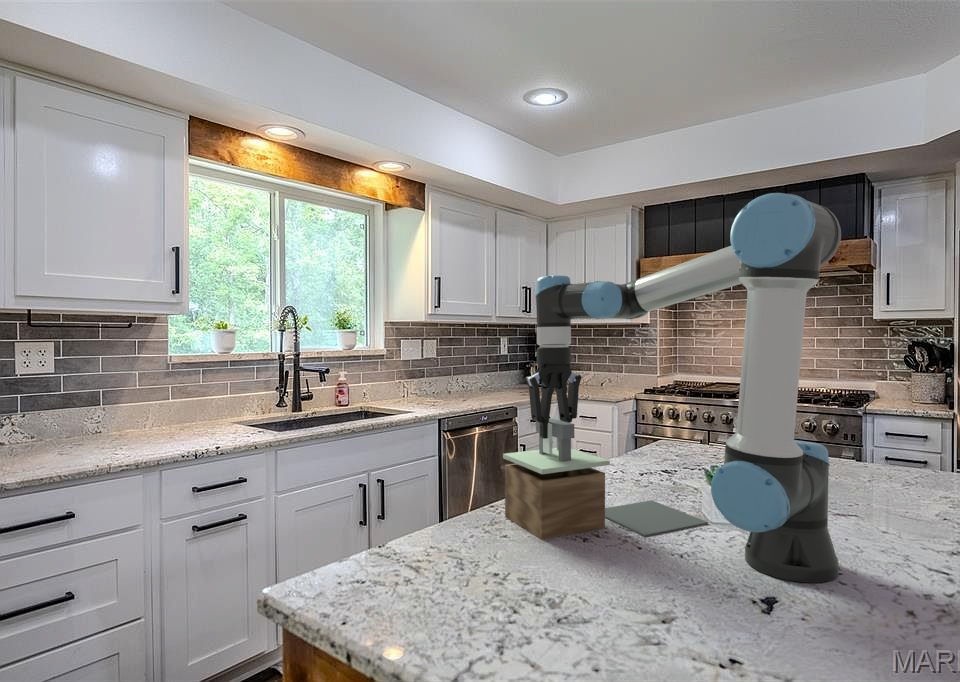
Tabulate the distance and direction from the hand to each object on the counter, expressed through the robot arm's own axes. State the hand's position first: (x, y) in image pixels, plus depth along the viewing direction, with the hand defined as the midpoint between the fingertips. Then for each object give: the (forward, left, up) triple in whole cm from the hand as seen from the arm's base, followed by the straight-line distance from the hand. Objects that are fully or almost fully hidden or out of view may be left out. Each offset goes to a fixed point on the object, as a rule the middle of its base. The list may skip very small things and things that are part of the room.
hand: (554, 451), depth 132 cm
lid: (0, 0, -2) cm, 2 cm away
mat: (-7, -21, -16) cm, 27 cm away
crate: (0, 0, -16) cm, 16 cm away
